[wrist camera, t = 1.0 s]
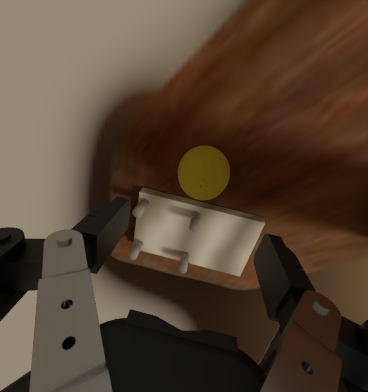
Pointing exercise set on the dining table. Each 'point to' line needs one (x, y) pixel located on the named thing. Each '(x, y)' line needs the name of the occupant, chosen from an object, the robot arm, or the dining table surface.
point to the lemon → (203, 172)
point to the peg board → (194, 232)
